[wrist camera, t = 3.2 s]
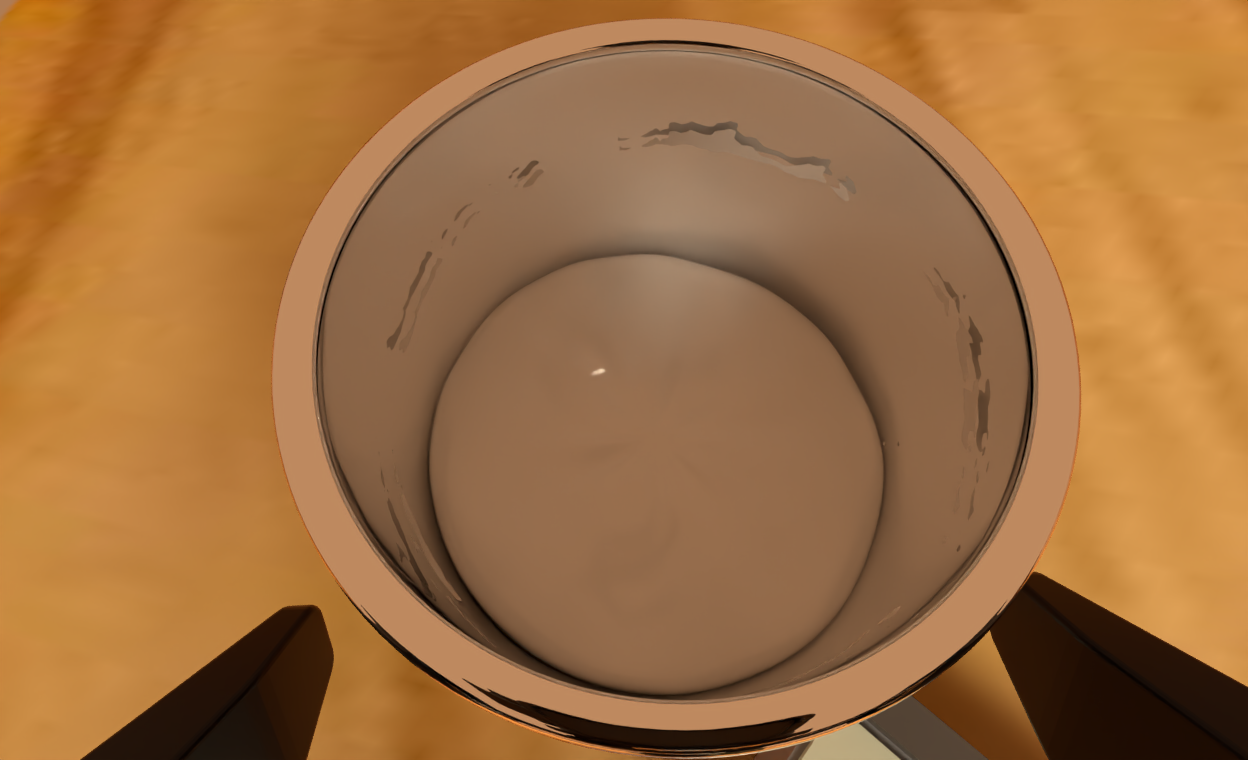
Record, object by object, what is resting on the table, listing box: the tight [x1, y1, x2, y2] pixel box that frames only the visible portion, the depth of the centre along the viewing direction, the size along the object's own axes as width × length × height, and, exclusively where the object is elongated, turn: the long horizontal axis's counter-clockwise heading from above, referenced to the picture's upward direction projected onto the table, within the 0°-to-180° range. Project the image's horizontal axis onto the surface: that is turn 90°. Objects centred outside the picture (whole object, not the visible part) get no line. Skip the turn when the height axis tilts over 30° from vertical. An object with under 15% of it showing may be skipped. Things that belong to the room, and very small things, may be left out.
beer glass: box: [271, 18, 1081, 759], centre depth 12 cm, size 7×7×15 cm
